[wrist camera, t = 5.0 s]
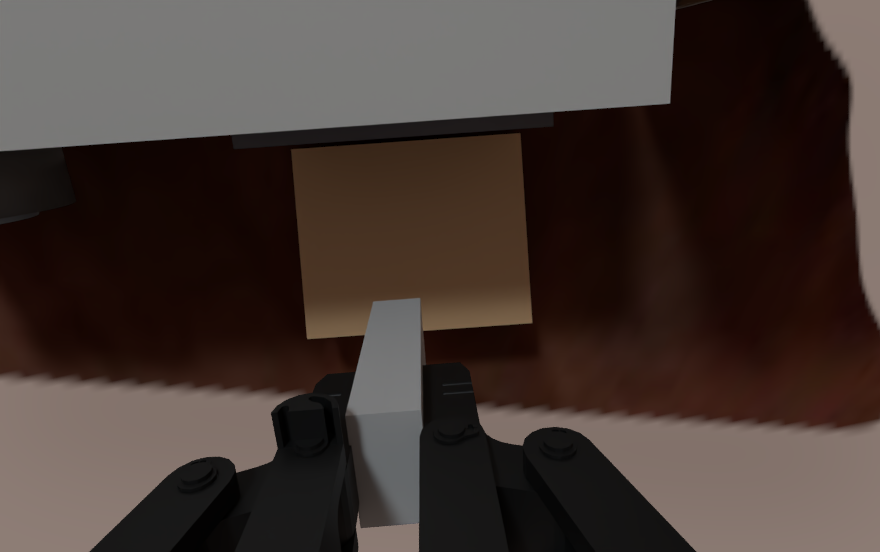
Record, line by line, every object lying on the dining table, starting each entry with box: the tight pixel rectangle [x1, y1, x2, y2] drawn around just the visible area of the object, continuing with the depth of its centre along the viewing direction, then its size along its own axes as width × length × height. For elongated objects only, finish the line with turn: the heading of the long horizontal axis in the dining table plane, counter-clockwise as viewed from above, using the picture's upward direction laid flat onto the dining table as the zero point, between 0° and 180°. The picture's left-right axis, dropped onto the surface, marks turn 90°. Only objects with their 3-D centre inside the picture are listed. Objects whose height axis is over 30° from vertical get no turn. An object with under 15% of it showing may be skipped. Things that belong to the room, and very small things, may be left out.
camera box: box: [0, 0, 676, 224], centre depth 16 cm, size 28×11×11 cm, turn 94°
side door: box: [291, 133, 532, 339], centre depth 23 cm, size 10×1×8 cm
